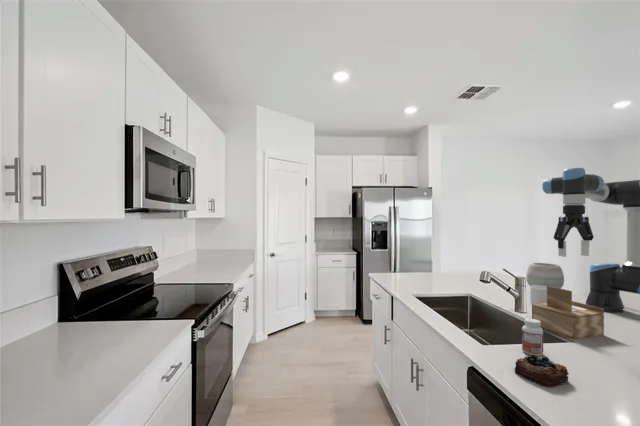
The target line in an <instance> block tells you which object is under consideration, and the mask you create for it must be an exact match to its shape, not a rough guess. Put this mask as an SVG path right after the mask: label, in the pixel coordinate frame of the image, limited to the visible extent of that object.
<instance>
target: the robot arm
mask: <svg viewBox="0 0 640 426" xmlns="http://www.w3.org/2000/svg"><path fill="white" fill-rule="evenodd" d="M541 186H542V191H543V192H544V193H545V194H547V195H555V194H556V195H562V204H563V206H562V214H563V215H564V216H559V217H558V223H557V226H556V229H555V230H554V235H553V239H554V240H555V241H557V247H558V248H557V249H558V257H562V258H563V257H564V258H566V257H567V240H566V238H567V237H568V235H569V233H570V231H571V230H572V229H573V228H576V230H577V231H578V234H579V235H580V237H581V238H582V239H581V240H580V256H584V257H589V256H590V241H591V242H592V241H593V239H594V234H593V231H592V228H591V224H590V222H589V221H590V217H589V216H584V215H585V214H586V206H585V204H586V199H589V200H591V201H592V202H596V203H600V204H601V203H603V204H606V205H607V204H608V205H617V206H622V209H624V210H625V211H626V212H627V213H626V214H627V215H626V260H625V261H624V262H623V263H621V265H620V263H615V262H613V263H610V262H608V263H606V262H605V263H604V262H603V263H593V264H591V265H590V268H589V293H588V296H587V297H586V301H585V304H586V305H590V306H594V307H599V308H603V309H604V312H608V313H624V312H625V305H624V303H623V300H622V297H621V295H620V294H621V293H620V292H627V293H631V294H638V295H640V179H637V180H635V179H634V180H626V181H625V180H624V181H623V180H621V181H614V182H613V181H612V182H605V180H604V179H603V177H602V176H600V175H597V174H593V173H592V174H590V173H589V174H588V173H586V169H585V168H584V167H571V168H570V167H569V168H565V169H564V170H563V172H562V176H561V177H560V176H559V177H550V178H546V179H544V180H543V182H542V185H541ZM623 309H624V310H623Z"/></svg>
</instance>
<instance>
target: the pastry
mask: <svg viewBox="0 0 640 426" xmlns="http://www.w3.org/2000/svg"><path fill="white" fill-rule="evenodd" d="M514 373H515V374H516V375H519V376H520V377H522V378H525V379H527V380H528V381H531V382H534V383H536V384H537V385H539V386H541V387H545V388H552V387H558V386H561V385H564V384H566V383H567V382H568V380H569V375H570V373H569V372H568V369H567V366H565V365H563V364H558V363H554V362H552V361H550V359H549V357H548V356H545V355H544V356H542V357H541V356H536V355H535V354H534V355H530V356H529V355H528V356H524V357H522V358H521V357H519V358H518V359H517V360H515V367H514Z"/></svg>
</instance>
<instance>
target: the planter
mask: <svg viewBox="0 0 640 426" xmlns="http://www.w3.org/2000/svg"><path fill="white" fill-rule="evenodd" d="M563 271H564V270H563V269H562V267H561V265H559V264H555V263H549V262H530V263H529V265H528V267H527V268H526V277H525V278H526V282H527V284H528V285H529V287H530V286H532V285H542V286H551V287H555V288H560V289H563V287H564V285H565V276H564V272H563Z"/></svg>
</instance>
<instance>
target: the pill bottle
mask: <svg viewBox="0 0 640 426" xmlns="http://www.w3.org/2000/svg"><path fill="white" fill-rule="evenodd" d="M540 325H541V322H540V321H539V320H536V319H532V318H525V319H524V325H522V327H521V347H522V348H521V349H522V352H523V353H525V354H527V355H528V356H529V355H530V356H531V355H534V354H535V355H536V356H538V357H541V356H542V355H544V329H543V328H541V327H540Z"/></svg>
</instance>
